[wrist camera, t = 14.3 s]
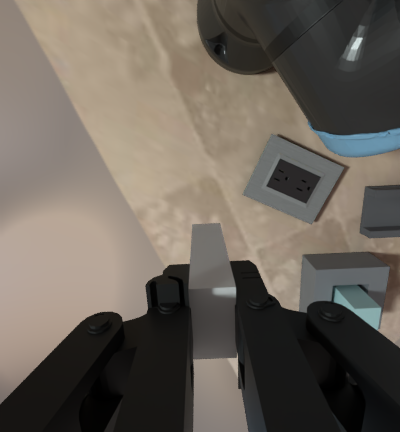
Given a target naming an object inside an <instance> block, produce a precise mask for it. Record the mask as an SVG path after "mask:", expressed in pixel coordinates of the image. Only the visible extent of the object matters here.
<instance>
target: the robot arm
mask: <svg viewBox="0 0 400 432" xmlns="http://www.w3.org/2000/svg"><path fill="white" fill-rule="evenodd" d="M197 24H198V30H199V35H200V38H201V41H202V43H203V45H204V47H205V49H206V51H207V52H208V54H209V55H210V56H211V58H212V59H213V60H214V61H215V62H216V63H217V64H219V65H220V66H221V67H223V68H225V69H226V70H229V71H231V72H234V73H238V74H256V73H260V72H263V71H265V70H268V69H270V68H271V67H273V66H274V68H275V69H276V71H277V72H278V74H279V76H280V77H281V79H282V80H283V82H284V83H285V85H286V86H287V88H288V90H289V91H290V93H291V94H292V96H293V97H294V99H295V101H296V102H297V104H298V105H299V107H300V108H301V110H302V112H303V113H304V115H305V116H306V118H307V119H308V125H309V127H310V128H311V130H312V131H314V132H315V133H316V134H317V135H318V136H319V138H320V139H321V140H322V142H323V143H324V145H325V146H326V147H327V148H328V149H329V150H330V151H332V152H334V153H335V154H338V155H340V156H344V157H366V156H373V155H378V154H382V153H386V152H390V151H393V150H397V149H400V0H198V3H197ZM146 294H147V302H148V311H147V314H145V315H143V316H141V317H139V318H136V319H132V320H129V321H125V322H123V321H122V317H121V316H120V315H119V314H118V313H114V312H100V313H97V314H94V315H92V316H89V317H87V318H86V319H85V320H83V321H82V322H81V323H80V324H79V325H78V326H77V327H76V328H75V329H74V330H73V331H72V332H71V333H70V334H69V335H68V336H67V337H66V338H65V339H64V340H63V341H62V342H61V343H60V344H59V345H58V346H57V347H56V348H55V349H54V350H53V351H52V352H51V353H50V354H49V355H48V356H47V357H46V358H45V359H44V360H43V361H42V362H41V363H40V364H39V365H38V367H36V368H35V369H34V371H33V372H32V373H31V374H30V375H29V376H28V377H27V378H26V379H25V380H24V381H23V382H22V383H21V384H20V385H19V386H18V387H17V388H16V389H15V390H14V391H13V392H12V393H11V394H10V395H9V396H8V397H7V398H6V399H5V400H4V401H3V402H2V403H1V404H0V432H193V398H194V367H193V359H214V358H215V359H216V358H237V353H238V388H239V389H241V390H242V396H243V402H244V407H245V413H246V419H247V425H248V431H249V432H400V348H399V347H398V346H396V345H395V344H394V343H393V342H391V341H390V340H389V339H387V338H386V337H385V336H384V335H382V334H381V333H380V332H378V331H377V330H376V329H375V328H373V327H372V326H371V325H369V324H368V323H367V322H365V321H364V320H363V319H362V318H360V317H359V316H358V315H356V314H355V313H354V312H353V311H351V310H350V309H348V308H347V307H345V306H343V305H341V304H338V303H335V302H332V301H316V302H313V303H310V304H309V306H308V307H307V313H305V312H299V311H293V310H288V309H285V308H283V307H281V305H280V303H279V301H278V300H277V299H276V298H275V297H273V296H272V295H270V294H268V292H267V289H266V287H265V285H264V283H263V280H262V278H261V276H260V274H259V271H258V269H257V267H256V265H255V264H253V263H252V262H250V261H249V260H246V261H229V257H228V253H227V249H226V245H225V241H224V237H223V233H222V229H221V225H220V223H213V224H192V240H191V256H190V264H178V265H169V266H168V267H167V268H166V269H165V270H164V271H163V274H162V275H160V276H157V277H154V278H152V279H151V280H150V281H148V282H147V284H146Z"/></svg>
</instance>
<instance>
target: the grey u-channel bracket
mask: <svg viewBox="0 0 400 432" xmlns="http://www.w3.org/2000/svg"><path fill="white" fill-rule="evenodd" d="M360 233H361V234H363V235H365V236H367V237H368V238H386V237H400V185H388V186H367V187H365V193H364V201H363V209H362V217H361V225H360Z"/></svg>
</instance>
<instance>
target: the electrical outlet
mask: <svg viewBox="0 0 400 432" xmlns="http://www.w3.org/2000/svg"><path fill="white" fill-rule="evenodd" d="M343 169H344V167H342V166H340V165H338V164H336V163H333V162H331V161H329V160H327V159H325V158H323V157H321V156H318V155H316V154H314V153H312V152H310V151H308V150H306V149H303V148H301V147H299V146H297V145H295V144H293V143H291V142H288V141H286V140H284V139H282V138H280V137H278V136H276V135H273V134H272V135H271V137H270V139H269V141H268V143H267V145H266V147H265V149H264V151H263V153H262V155H261V157H260V159H259V161H258V164H257V166H256V168H255V170H254V172H253V174H252V176H251V178H250V180H249V182H248V184H247V186H246V188H245V190H244V192H243V195H244V196H247V197H249V198H251V199H254V200H256V201H258V202H261V203H263V204H265V205H268V206H270V207H272V208H275V209H277V210H279V211H282V212H284V213H286V214H289V215H291V216H293V217H296V218H298V219H300V220H302V221H305V222H307V223H309V224H312V223H313V221H314V220H315V218H316V216H317V214H318V213H319V211H320V209H321V207H322V206H323V204H324V202H325V200H326V199H327V197H328V195H329V193H330V192H331V190H332V188H333V187H334V185H335V183H336V181H337V180H338V178H339V176H340V174H341V173H342V171H343Z"/></svg>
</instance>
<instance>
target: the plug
mask: <svg viewBox="0 0 400 432" xmlns="http://www.w3.org/2000/svg"><path fill="white" fill-rule="evenodd" d="M331 301H332V302H335V303H338V304H341V305H343V306H345V307H347V308H348V309H350V310H351V311H353V312H354V313H355V314H356V315H358V316H359V317H360V318H362V319H363V320H364V321H365V322H367V323H368V324H369V325H371V326H372V327H373V328H375V329H376V330H378V326H379V320H380V313H381V307H380V306H379V305H378V304H377V303H376V302H375V301H374V300H373V299H372V298H371V297H369V296H368V295H367V294H366V293H365V292H364V291H363V290H362V289H361V288H360V287H359V286H358V285H335V286H333V289H332V299H331Z"/></svg>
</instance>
